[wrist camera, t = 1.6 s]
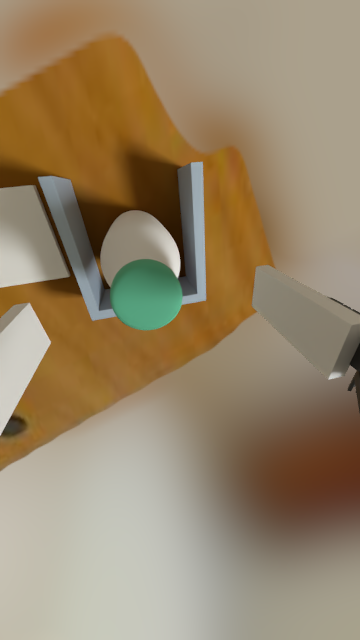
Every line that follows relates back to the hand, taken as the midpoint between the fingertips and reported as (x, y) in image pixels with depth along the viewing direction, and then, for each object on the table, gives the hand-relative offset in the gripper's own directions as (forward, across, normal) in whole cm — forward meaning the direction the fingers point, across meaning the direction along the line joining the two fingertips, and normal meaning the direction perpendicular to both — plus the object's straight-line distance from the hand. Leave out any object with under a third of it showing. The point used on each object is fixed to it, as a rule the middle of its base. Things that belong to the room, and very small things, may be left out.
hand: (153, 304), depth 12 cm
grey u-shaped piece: (+20, 0, 0) cm, 20 cm away
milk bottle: (+21, 0, 0) cm, 21 cm away
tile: (+20, -16, +2) cm, 26 cm away
